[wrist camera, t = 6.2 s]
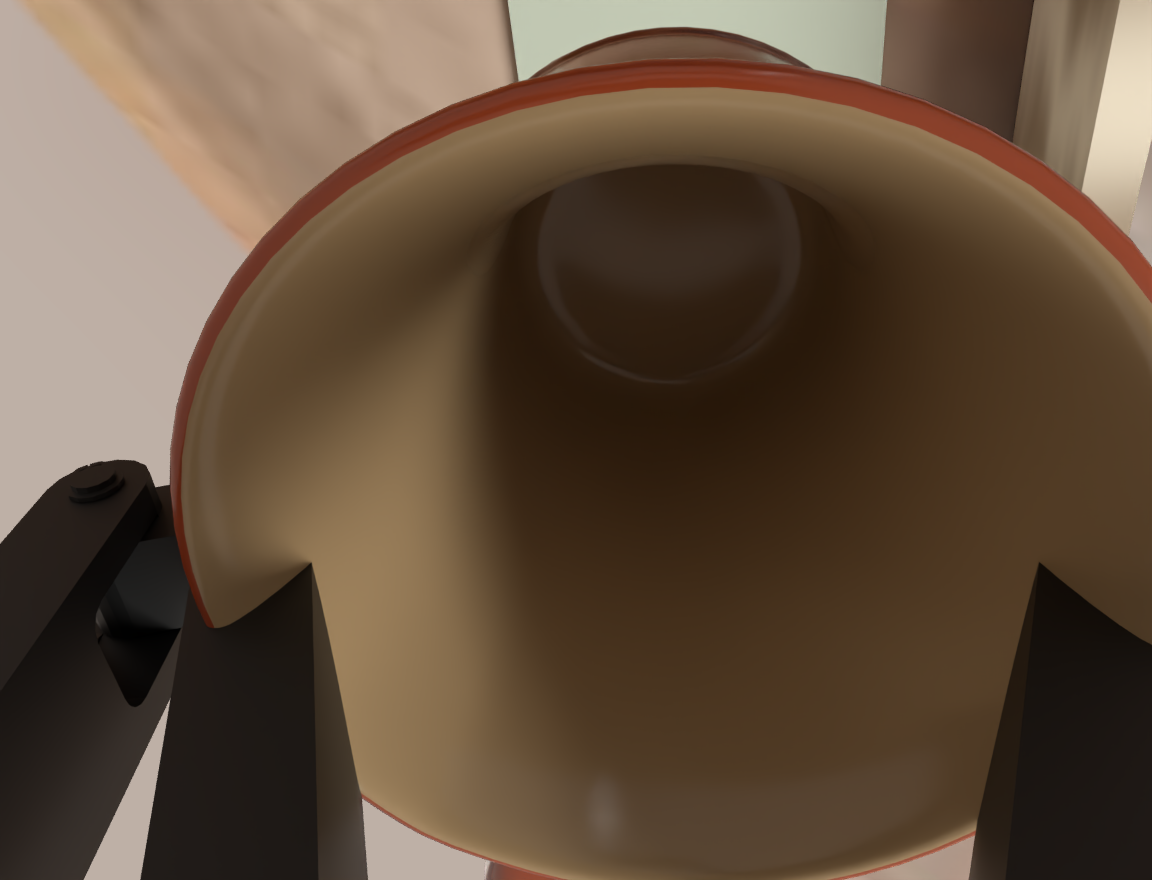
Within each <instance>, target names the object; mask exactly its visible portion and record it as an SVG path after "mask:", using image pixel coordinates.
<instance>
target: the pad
mask: <svg viewBox="0 0 1152 880" xmlns="http://www.w3.org/2000/svg"><path fill="white" fill-rule="evenodd" d="M508 6H509V14H510V21H511V28H512V36H513V43H514V50H515V58H516V65H517V72H518V79H519V81H523V80H527V79H528V78H530V77H531V76H532V75H534V74H535V73H536V72H538V71H539V70H540V69H542V68H543V67H545V66H547V65H548V64H549V63H551V62H552V61H554V60H556V59H557V58H559V57H561V56H563V55H565V54H568V53H570V52H572V51H574V50H576V49H578V48H580V47H582V46H584V45H587V44H590V43H593V42H595V41H598V40H601V39H604V38H607V37H610V36H614V35H618V34H622V33H627V32H631V31H635V30H643V29H651V28H659V27H695V28H706V29H715V30H720V31H725V32H730V33H735V34H739V35H742V36H746V37H749V38H752V39H755V40H758V41H761V42H764V43H766V44H769V45H771V46H773V47H775V48H778V49H780V50H782V51H784V52H786V53H788V54H790V55H792V56H793V57H795V58H797V59H798V60H800V61H802V62H804V63H805V64H807V65H809V66H810V67H811V68H813V69H815V70H820V71H825V72H830V73H835V74H840V75H845V76H850V77H855V78H859V79H862V80H865V81H868V82H871V83H874V84H878V85H881V76H882V62H883V48H884V35H885V21H886V7H887V0H508Z"/></svg>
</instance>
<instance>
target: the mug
mask: <svg viewBox="0 0 1152 880" xmlns="http://www.w3.org/2000/svg"><path fill="white" fill-rule="evenodd" d="M170 450H171V451H170V495H171V505H172V514H173V524H174V530H175V535H176V539H177V543H178V548H179V552H180V557H181V561H182V565H183V568H184V571H185V574H186V577H187V580H188V583H189V586H190V589H191V591H192V594H193V597H194V600H195V603H196V605H197V607H198V609H199V611H200V614H201V616H202V618H203V620H204V622H205V624H206V626H208V627H210V628H221V627H224V626H227V625H229V624H231V623H233V622H235V621H236V620H238V619H240V618H241V617H243V616H244V615H246V614H247V613H249V612H250V611H252V610H253V609H255V608H256V607H257V606H259V605H260V604H261V603H263V602H264V601H265V600H266V599H268V598H269V597H270V596H272V595H273V594H274V593H276V592H277V591H278V590H279V589H281V588H282V587H283V586H284V585H285V584H287V583H288V582H289V581H290V580H291V579H293V578H294V577H295V576H296V575H297V574H299V573H300V572H301V571H302V570H303V569H305V568H306V567H307V566H308V565H309V564H310V563H311V562H312V566H313V570H314V574H315V578H316V582H317V586H318V590H319V595H320V599H321V603H322V608H323V612H324V617H325V621H326V626H327V630H328V635H329V639H330V644H331V649H332V654H333V659H334V663H335V668H336V673H337V678H338V683H339V688H340V693H341V698H342V703H343V708H344V713H345V719H346V724H347V729H348V734H349V739H350V744H351V749H352V755H353V760H354V765H355V770H356V775H357V779H358V783H359V788H360V791H361V795H362V799H364V800H366V801H367V802H368V803H370V804H371V805H373V806H374V807H376V808H377V809H379V810H380V811H382V812H383V813H385V814H386V815H388V816H390V817H392V818H393V819H395V820H396V821H398V822H399V823H401V824H403V825H404V826H406V827H408V828H410V829H412V830H413V831H415V832H417V833H419V834H421V835H423V836H425V837H427V838H430V839H432V840H434V841H437V842H439V843H441V844H444V845H446V846H448V847H451V848H453V849H456V850H459V851H462V852H465V853H468V854H471V855H474V856H476V857H480V858H482V859H485V860H486V861H485V870H484V872H485V880H844V879H849V878H853V877H858V876H862V875H866V874H870V873H873V872H877V871H880V870H884V869H887V868H891V867H894V866H898V865H901V864H904V863H907V862H910V861H912V860H915V859H918V858H921V857H924V856H926V855H929V854H932V853H935V852H938V851H940V850H942V849H945V848H947V847H949V846H952V845H954V844H956V843H959V842H961V841H963V840H965V839H968V838H970V837H972V836H975V833H976V826H977V820H978V816H979V811H980V807H981V803H982V798H983V794H984V789H985V785H986V781H987V776H988V772H989V767H990V763H991V758H992V754H993V749H994V745H995V740H996V736H997V732H998V727H999V723H1000V719H1001V714H1002V710H1003V705H1004V701H1005V697H1006V692H1007V688H1008V684H1009V680H1010V675H1011V671H1012V667H1013V663H1014V658H1015V654H1016V650H1017V646H1018V642H1019V638H1020V634H1021V630H1022V625H1023V621H1024V617H1025V613H1026V609H1027V605H1028V602H1029V598H1030V594H1031V590H1032V586H1033V582H1034V578H1035V575H1036V571H1037V567H1038V563H1039V562H1040V563H1041V564H1043V565H1044V566H1045V567H1046V568H1047V569H1048V570H1050V571H1051V572H1052V573H1053V574H1054V575H1056V576H1057V577H1058V578H1059V579H1060V580H1061V581H1063V582H1064V583H1065V584H1066V585H1068V586H1069V587H1070V588H1072V589H1073V590H1074V591H1075V592H1077V593H1078V594H1079V595H1080V596H1082V597H1083V598H1084V599H1085V600H1087V601H1088V602H1089V603H1090V604H1092V605H1093V606H1094V607H1096V608H1097V609H1098V610H1100V611H1101V612H1103V613H1104V614H1105V615H1107V616H1108V617H1109V618H1111V619H1112V620H1113V621H1115V622H1116V623H1117V624H1119V625H1120V626H1122V627H1123V628H1125V629H1126V630H1128V631H1129V632H1131V633H1132V634H1134V635H1136V636H1137V637H1139V638H1140V639H1142V640H1144V641H1146V642H1148V643H1149V644H1151V645H1152V266H1151V265H1150V264H1149V262H1148V261H1147V260H1146V258H1145V257H1144V256H1143V254H1142V253H1141V252H1140V250H1139V249H1138V248H1137V247H1136V245H1135V244H1134V243H1133V241H1132V240H1131V239H1130V238H1129V237H1128V236H1127V235H1126V234H1125V233H1124V232H1123V231H1122V230H1121V229H1120V228H1119V227H1118V226H1117V225H1116V224H1115V223H1114V222H1113V221H1112V220H1111V219H1110V218H1109V217H1108V216H1107V215H1106V214H1105V213H1104V212H1103V211H1102V210H1101V209H1100V208H1099V207H1098V206H1097V205H1096V204H1095V203H1094V202H1093V201H1092V200H1091V199H1090V198H1089V197H1088V196H1087V195H1086V194H1084V193H1083V192H1082V191H1080V190H1079V189H1078V188H1076V187H1075V186H1074V185H1073V184H1071V183H1070V182H1069V181H1067V180H1066V179H1065V178H1064V177H1062V176H1061V175H1060V174H1058V173H1057V172H1056V171H1055V170H1053V169H1052V168H1051V167H1049V166H1048V165H1047V164H1045V163H1044V162H1043V161H1042V160H1040V159H1039V158H1037V157H1035V156H1034V155H1032V154H1030V153H1029V152H1027V151H1025V150H1023V149H1022V148H1020V147H1018V146H1017V145H1015V144H1013V143H1012V142H1010V141H1008V140H1007V139H1005V138H1003V137H1002V136H1000V135H998V134H997V133H995V132H993V131H992V130H990V129H988V128H987V127H985V126H983V125H980V124H978V123H976V122H974V121H971V120H969V119H967V118H965V117H962V116H960V115H958V114H956V113H954V112H951V111H949V110H947V109H945V108H942V107H940V106H938V105H936V104H933V103H931V102H929V101H927V100H924V99H922V98H918V97H915V96H912V95H909V94H906V93H903V92H900V91H896V90H893V89H890V88H887V87H884V86H881V85H878V84H874V83H871V82H868V81H865V80H862V79H859V78H855V77H850V76H845V75H840V74H835V73H830V72H825V71H820V70H815V69H813V68H811V67H810V66H809V65H807V64H805V63H804V62H802V61H800V60H798V59H797V58H795V57H793V56H792V55H790V54H788V53H786V52H784V51H782V50H780V49H778V48H775V47H773V46H771V45H769V44H766V43H764V42H761V41H758V40H755V39H752V38H749V37H746V36H742V35H739V34H735V33H730V32H725V31H720V30H715V29H706V28H695V27H659V28H651V29H643V30H635V31H631V32H627V33H622V34H618V35H614V36H610V37H607V38H604V39H601V40H598V41H595V42H593V43H590V44H587V45H584V46H582V47H580V48H578V49H576V50H574V51H572V52H570V53H568V54H565V55H563V56H561V57H559V58H557V59H556V60H554V61H552V62H551V63H549V64H548V65H547V66H545V67H543V68H542V69H540V70H539V71H538V72H536V73H535V74H534V75H532V76H531V77H530V78H528V79H527V80H523V81H519V82H515V83H512V84H509V85H506V86H503V87H500V88H498V89H495V90H492V91H489V92H486V93H483V94H480V95H478V96H475V97H472V98H469V99H466V100H463V101H460V102H458V103H455V104H452V105H450V106H448V107H445V108H443V109H441V110H439V111H437V112H435V113H433V114H431V115H429V116H427V117H425V118H422V119H420V120H418V121H416V122H414V123H412V124H410V125H408V126H406V127H404V128H402V129H399V130H397V131H395V132H394V133H392V134H390V135H389V136H387V137H386V138H384V139H382V140H381V141H379V142H378V143H376V144H374V145H373V146H371V147H370V148H368V149H366V150H365V151H363V152H362V153H360V154H358V155H357V156H355V157H354V158H352V159H350V160H349V161H347V162H346V163H344V164H343V165H342V166H340V167H339V168H338V169H337V170H335V171H334V172H333V173H332V174H330V175H329V176H328V177H327V178H325V179H324V180H323V181H322V182H320V183H319V184H318V185H317V186H315V187H314V188H313V189H312V190H310V191H309V192H308V193H307V194H305V195H304V196H303V197H302V198H300V199H299V200H298V201H297V202H296V203H295V204H294V205H293V207H292V208H291V209H290V210H289V211H288V212H287V213H286V214H285V215H284V216H283V217H282V218H281V219H280V220H279V221H278V222H277V223H276V224H275V225H274V226H273V227H272V228H271V229H270V230H269V231H268V232H267V233H266V234H265V235H264V236H263V237H262V239H261V240H260V241H259V242H258V244H257V245H256V246H255V248H254V249H253V250H252V252H251V253H250V254H249V256H248V257H247V258H246V259H245V261H244V262H243V263H242V265H241V266H240V267H239V269H238V270H237V271H236V273H235V274H234V275H233V277H232V278H231V280H230V282H229V283H228V285H227V287H226V288H225V290H224V292H223V294H222V295H221V297H220V299H219V300H218V302H217V304H216V306H215V307H214V309H213V311H212V312H211V314H210V316H209V318H208V319H207V321H206V323H205V326H204V328H203V330H202V333H201V335H200V338H199V340H198V342H197V345H196V347H195V349H194V352H193V354H192V357H191V359H190V361H189V364H188V367H187V370H186V374H185V377H184V381H183V385H182V388H181V392H180V396H179V399H178V403H177V407H176V413H175V420H174V427H173V434H172V441H171V448H170Z"/></svg>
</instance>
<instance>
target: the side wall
mask: <svg viewBox="0 0 1152 880" xmlns="http://www.w3.org/2000/svg"><path fill="white" fill-rule="evenodd" d="M1151 139H1152V0H1034V5H1033V12H1032V18H1031V25H1030V31H1029V38H1028V44H1027V51H1026V57H1025V64H1024V70H1023V77H1022V83H1021V90H1020V96H1019V103H1018V109H1017V116H1016V122H1015V129H1014V135H1013V142H1012V143H1013V144H1015V145H1017V146H1018V147H1020V148H1022V149H1023V150H1025V151H1027V152H1029V153H1030V154H1032V155H1034V156H1035V157H1037V158H1039V159H1040V160H1042V161H1043V162H1044V163H1045V164H1047V165H1048V166H1049V167H1051V168H1052V169H1053V170H1055V171H1056V172H1057V173H1058V174H1060V175H1061V176H1062V177H1064V178H1065V179H1066V180H1067V181H1069V182H1070V183H1071V184H1073V185H1074V186H1075V187H1076V188H1078V189H1079V190H1080V191H1082V192H1083V193H1084V194H1086V195H1087V196H1088V197H1089V198H1090V199H1091V200H1092V201H1093V202H1094V203H1095V204H1096V205H1097V206H1098V207H1099V208H1100V209H1101V210H1102V211H1103V212H1104V213H1105V214H1106V215H1107V216H1108V217H1109V218H1110V219H1111V220H1112V221H1113V222H1114V223H1115V224H1116V225H1117V226H1118V227H1119V228H1120V229H1121V230H1122V231H1123V232H1124V233H1125V234H1126V235H1127V236H1129V232H1130V227H1131V223H1132V219H1133V215H1134V211H1135V206H1136V202H1137V198H1138V194H1139V189H1140V185H1141V181H1142V177H1143V173H1144V168H1145V164H1146V160H1147V156H1148V152H1149V147H1150V143H1151Z"/></svg>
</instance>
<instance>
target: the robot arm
mask: <svg viewBox="0 0 1152 880" xmlns="http://www.w3.org/2000/svg"><path fill="white" fill-rule="evenodd" d="M170 698H171V699H170ZM169 700H170V705H169V711H168V718H167V724H166V729H165V736H164V742H163V747H162V754H161V760H160V765H159V771H158V778H157V783H156V790H155V796H154V802H153V807H152V814H151V819H150V825H149V832H148V838H147V843H146V849H145V856H144V862H143V867H142V873H141V879H140V880H368V875H367V862H366V850H365V835H364V821H363V808H362V795H361V791H360V788H359V783H358V779H357V775H356V770H355V765H354V760H353V755H352V749H351V744H350V739H349V734H348V729H347V724H346V719H345V713H344V708H343V703H342V698H341V693H340V688H339V683H338V678H337V673H336V668H335V663H334V659H333V654H332V649H331V644H330V639H329V635H328V630H327V626H326V621H325V617H324V612H323V608H322V603H321V599H320V595H319V590H318V586H317V582H316V578H315V574H314V570H313V566H312V562H311V563H310V564H309V565H308V566H307V567H306V568H305V569H303V570H302V571H301V572H300V573H299V574H297V575H296V576H295V577H294V578H293V579H291V580H290V581H289V582H288V583H287V584H285V585H284V586H283V587H282V588H281V589H279V590H278V591H277V592H276V593H274V594H273V595H272V596H270V597H269V598H268V599H266V600H265V601H264V602H263V603H261V604H260V605H259V606H257V607H256V608H255V609H253V610H252V611H250V612H249V613H247V614H246V615H244V616H243V617H241V618H240V619H238V620H236V621H235V622H233V623H231V624H229V625H227V626H224V627H221V628H210V627H208V626H206V624H205V622H204V620H203V618H202V616H201V614H200V611H199V609H198V607H197V605H196V603H195V600H194V597H193V594H192V591H191V589H190V586H189V583H188V580H187V577H186V574H185V571H184V568H183V565H182V561H181V557H180V552H179V548H178V543H177V539H176V535H175V530H174V524H173V514H172V505H171V495H170V485H166V486H161V487H155V486H154V483H153V480H152V477H151V475H150V472H149V471H148V469H147V467H146V465H144V464H141V463H139V462H136V461H131V460H114V461H108V462H102V461H101V462H96V463H92V464H90V466H88V465H86V466H83V467H80V468H78V469H76V470H75V471H74V472H73V473H70V474H69V475H67V476H65V477H63V478H61V479H59V480H58V481H57V482H56V483H55V484H53V486H51V487H50V488H49V489H47V491H46V492H45V493H44V494H43V495H42V496H41V497H40V499H39V500H38V501H37V502H36V503H35V504H34V505H33V507H32V508H31V509H30V510H29V511H28V512H27V514H26V515H25V516H24V517H23V518H22V519H21V520H20V522H19V523H18V524H17V525H16V526H15V527H14V529H13V530H12V531H11V532H10V533H9V534H8V535H7V537H6V538H5V539H4V540H3V541H2V542H1V544H0V880H84V878H85V876H86V873H87V871H88V869H89V867H90V865H91V863H92V861H93V859H94V857H95V854H96V853H97V850H98V848H99V846H100V844H101V842H102V840H103V838H104V836H105V834H106V832H107V829H108V827H109V825H110V823H111V821H112V819H113V817H114V815H115V813H116V811H117V808H118V806H119V804H120V802H121V800H122V798H123V796H124V794H125V792H126V790H127V788H128V786H129V783H130V781H131V779H132V777H133V775H134V773H135V771H136V769H137V766H138V765H139V763H140V760H141V758H142V756H143V754H144V752H145V750H146V748H147V746H148V743H149V742H150V739H151V737H152V735H153V733H154V731H155V729H156V727H157V725H158V723H159V720H160V719H161V716H162V714H163V712H164V710H165V708H166V706H167V704H168V702H169ZM969 880H1152V645H1151V644H1149V643H1148V642H1146V641H1144V640H1142V639H1140V638H1139V637H1137V636H1136V635H1134V634H1132V633H1131V632H1129V631H1128V630H1126V629H1125V628H1123V627H1122V626H1120V625H1119V624H1117V623H1116V622H1115V621H1113V620H1112V619H1111V618H1109V617H1108V616H1107V615H1105V614H1104V613H1103V612H1101V611H1100V610H1098V609H1097V608H1096V607H1094V606H1093V605H1092V604H1090V603H1089V602H1088V601H1087V600H1085V599H1084V598H1083V597H1082V596H1080V595H1079V594H1078V593H1077V592H1075V591H1074V590H1073V589H1072V588H1070V587H1069V586H1068V585H1066V584H1065V583H1064V582H1063V581H1061V580H1060V579H1059V578H1058V577H1057V576H1056V575H1054V574H1053V573H1052V572H1051V571H1050V570H1048V569H1047V568H1046V567H1045V566H1044V565H1043V564H1041V563H1040V562H1039V563H1038V567H1037V571H1036V575H1035V578H1034V582H1033V586H1032V590H1031V594H1030V598H1029V602H1028V605H1027V609H1026V613H1025V617H1024V621H1023V625H1022V630H1021V634H1020V638H1019V642H1018V646H1017V650H1016V654H1015V658H1014V663H1013V667H1012V671H1011V675H1010V680H1009V684H1008V688H1007V692H1006V697H1005V701H1004V705H1003V710H1002V714H1001V719H1000V723H999V727H998V732H997V736H996V740H995V745H994V749H993V754H992V758H991V763H990V767H989V772H988V776H987V781H986V785H985V789H984V794H983V798H982V803H981V807H980V811H979V816H978V820H977V826H976V833H975V840H974V847H973V854H972V861H971V868H970V875H969Z"/></svg>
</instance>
